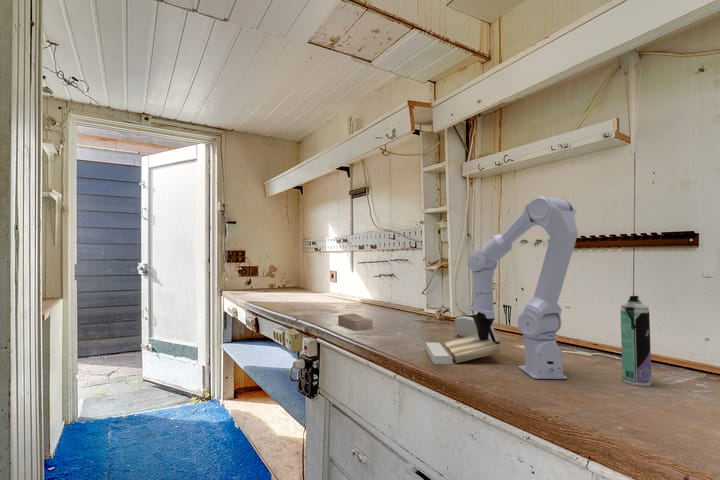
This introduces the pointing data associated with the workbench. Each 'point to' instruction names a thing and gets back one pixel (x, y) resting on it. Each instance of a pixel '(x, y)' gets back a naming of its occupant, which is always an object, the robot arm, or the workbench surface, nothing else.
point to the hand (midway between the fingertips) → (483, 339)
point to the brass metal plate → (470, 348)
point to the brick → (355, 322)
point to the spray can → (635, 343)
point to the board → (439, 353)
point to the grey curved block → (472, 328)
